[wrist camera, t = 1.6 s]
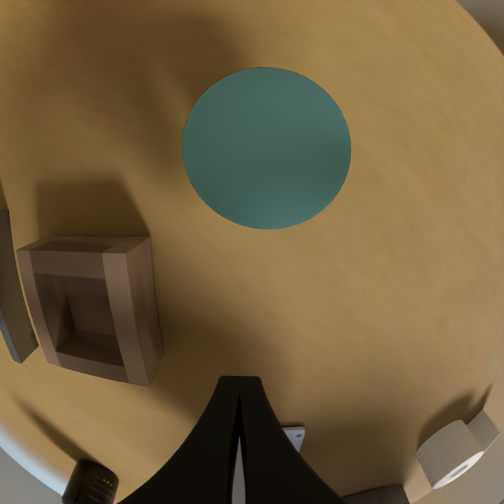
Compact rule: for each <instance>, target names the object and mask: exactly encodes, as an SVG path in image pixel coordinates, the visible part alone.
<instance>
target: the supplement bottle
mask: <svg viewBox="0 0 504 504" xmlns="http://www.w3.org/2000/svg"><path fill="white" fill-rule="evenodd" d="M118 485H119V479H118V477H117V476H116V475H115V474H114V473H112V472H111V471H110V470H108V469H106V468H105V467H103V466H101V465H99V464H97V463H94V462H92V461H89V460H84V459H82V460H79V461H77V463H76V465H75V468H74V470H73V472H72V475H71V477H70V479H69V482H68V484H67V487H66V489H65V492H64V494H63V497H62V503H63V504H113V502H114V499H115V495H116V492H117V489H118Z"/></svg>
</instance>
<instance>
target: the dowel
mask: <svg viewBox="0 0 504 504" xmlns="http://www.w3.org/2000/svg"><path fill="white" fill-rule="evenodd" d="M182 152H183V160H184V166H185V169H186V172H187V175H188V177H189V179H190V182H191V184H192V186H193V187H194V189H195V190H196V192H197V193H198V195H199V196H200V197H201V198H202V200H203V201H204V202H205V203H206V204H207V205H208V206H209V207H210V208H212V209H213V210H214V211H215V212H217V213H218V214H220V215H221V216H223V217H224V218H226V219H228V220H230V221H232V222H234V223H237V224H240V225H243V226H247V227H251V228H257V229H280V228H286V227H290V226H293V225H297V224H299V223H302V222H304V221H306V220H308V219H310V218H312V217H313V216H315V215H317V214H318V213H319V212H321V211H322V210H323V209H324V208H326V207H327V205H328V204H329V203H330V202H331V201H332V200H333V199H334V198H335V196H336V195H337V194H338V192H339V191H340V189H341V187H342V185H343V183H344V181H345V178H346V176H347V173H348V169H349V165H350V158H351V140H350V135H349V130H348V127H347V124H346V121H345V118H344V116H343V114H342V112H341V110H340V109H339V107H338V106H337V104H336V102H335V101H334V100H333V99H332V98H331V96H330V95H329V94H328V93H327V92H326V91H325V90H324V89H323V88H321V87H320V86H319V85H317V84H316V83H315V82H313V81H312V80H310V79H308V78H306V77H305V76H303V75H300V74H298V73H295V72H293V71H289V70H285V69H280V68H273V67H258V68H250V69H245V70H241V71H238V72H235V73H233V74H230V75H228V76H226V77H224V78H222V79H221V80H219V81H217V82H216V83H215V84H213V85H212V86H211V87H210V88H209V89H207V90H206V91H205V92H204V93H203V94H202V96H201V97H200V98H199V99H198V101H197V102H196V103H195V105H194V107H193V108H192V110H191V112H190V114H189V117H188V119H187V121H186V125H185V129H184V133H183V141H182Z"/></svg>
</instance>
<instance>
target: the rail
mask: <svg viewBox="0 0 504 504" xmlns="http://www.w3.org/2000/svg"><path fill="white" fill-rule="evenodd" d="M0 328H1V331H2V334H3V337H4V339H5V342H6V344H7V347H8V349H9V351H10V354H11V356H12V358H13V360H14V361H16V362H18V363H21V364H22V363H23V361H24V360H25V359H26V358H27V357H28V356H29V355H30V354H31V353H32V352H33V351H34V350H35V349H36V348H37V347H38V346H39V345H38V343H37V340H36V337H35V334H34V332H33V329H32V326H31V323H30V319H29V316H28V313H27V309H26V306H25V302H24V299H23V295H22V291H21V287H20V282H19V278H18V273H17V268H16V263H15V258H14V252H13V245H12V238H11V230H10V220H9V211H2V212H0Z"/></svg>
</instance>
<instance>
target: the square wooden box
mask: <svg viewBox="0 0 504 504" xmlns="http://www.w3.org/2000/svg"><path fill="white" fill-rule="evenodd" d="M16 251H17V257H18V262H19V268H20V273H21V277H22V282H23V286H24V290H25V294H26V298H27V302H28V306H29V309H30V313H31V316H32V319H33V322H34V325H35V329H36V332H37V334H38V337H39V340H40V343H41V346H42V348H43V351H44V353H45V356H46V358H47V361H48V363H50V364H53V365H56V366H60V367H63V368H66V369H70V370H73V371H77V372H81V373H85V374H89V375H93V376H97V377H101V378H105V379H110V380H115V381H120V382H125V383H130V384H136V385H142V386H148V387H150V384H151V382H152V380H153V377H154V375H155V372H156V370H157V368H158V365H159V363H160V360H161V358H162V356H163V353H164V352H163V346H162V340H161V333H160V326H159V319H158V312H157V304H156V295H155V286H154V276H153V264H152V251H151V237H144V236H48V237H46V238H43V239H41V240H39V241H36V242H34V243H31V244H29V245H27V246H24V247H22V248H20V249H17V250H16Z"/></svg>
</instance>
